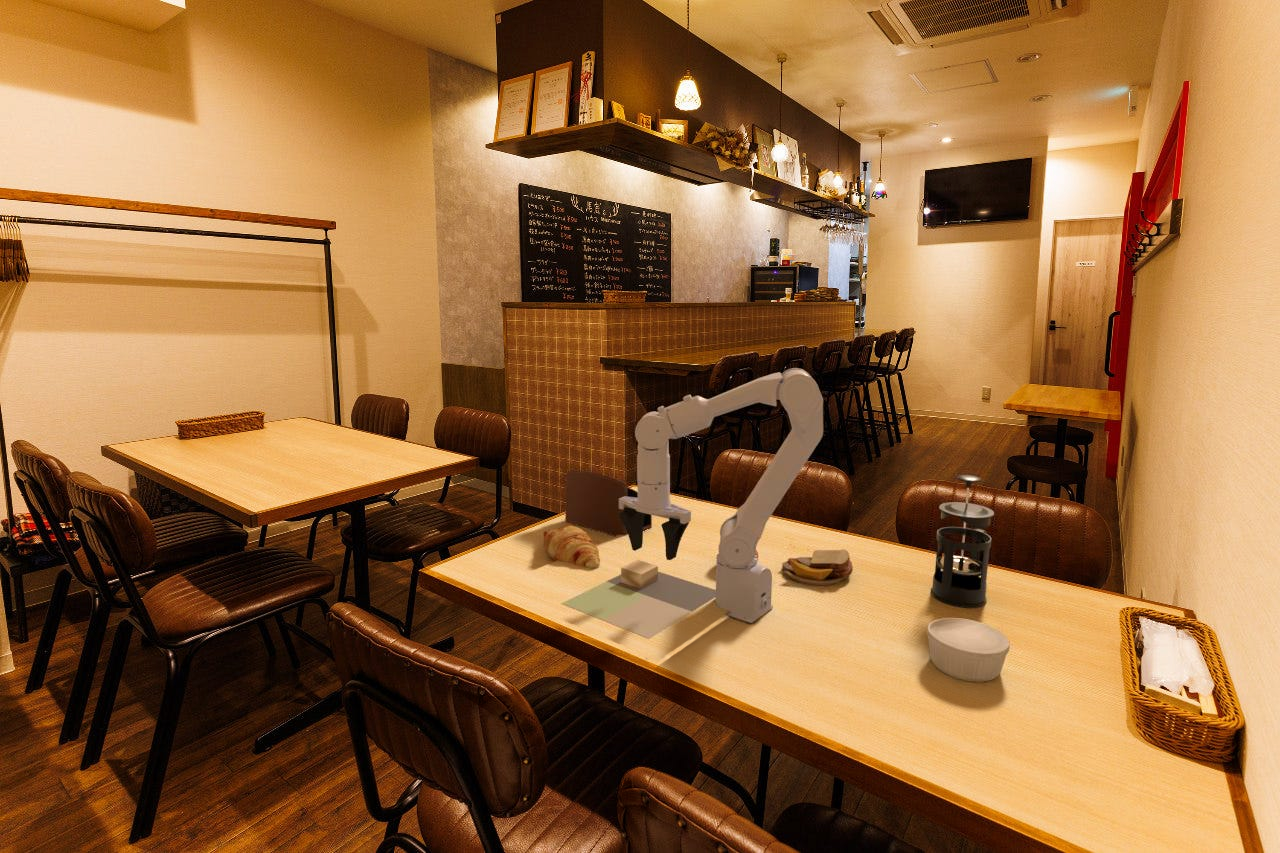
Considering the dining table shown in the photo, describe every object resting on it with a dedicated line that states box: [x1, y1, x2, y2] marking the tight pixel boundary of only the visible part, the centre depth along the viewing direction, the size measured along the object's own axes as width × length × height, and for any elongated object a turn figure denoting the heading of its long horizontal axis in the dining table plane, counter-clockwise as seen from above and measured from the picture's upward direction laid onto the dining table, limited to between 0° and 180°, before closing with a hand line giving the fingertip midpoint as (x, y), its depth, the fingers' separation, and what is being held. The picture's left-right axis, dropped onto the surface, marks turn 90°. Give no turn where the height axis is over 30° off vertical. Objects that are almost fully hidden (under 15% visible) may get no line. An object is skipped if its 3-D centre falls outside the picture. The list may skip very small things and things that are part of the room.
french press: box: [930, 474, 995, 609], centre depth 123 cm, size 12×9×23 cm
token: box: [620, 559, 659, 589], centre depth 129 cm, size 5×5×3 cm
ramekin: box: [926, 617, 1011, 683], centre depth 101 cm, size 11×11×5 cm
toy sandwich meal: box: [781, 548, 854, 586], centre depth 134 cm, size 12×14×5 cm
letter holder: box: [565, 469, 653, 537], centre depth 163 cm, size 10×20×14 cm, turn 50°
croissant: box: [543, 524, 601, 569], centre depth 144 cm, size 21×10×8 cm, turn 38°
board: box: [560, 571, 716, 640], centre depth 122 cm, size 20×22×1 cm
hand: (653, 553), depth 121 cm, fingers open, 7 cm apart
